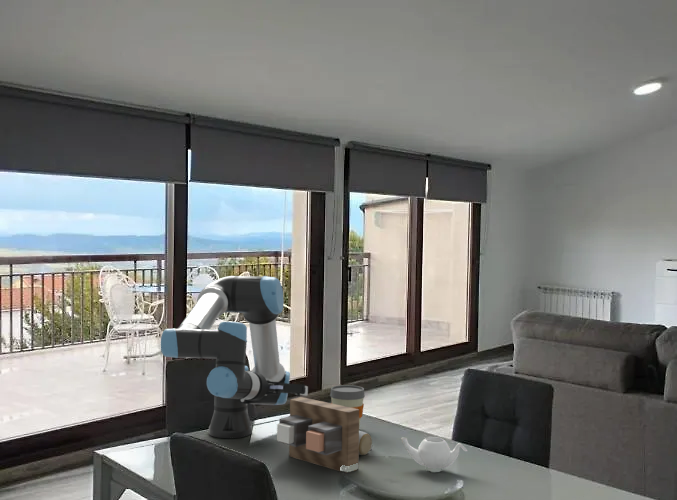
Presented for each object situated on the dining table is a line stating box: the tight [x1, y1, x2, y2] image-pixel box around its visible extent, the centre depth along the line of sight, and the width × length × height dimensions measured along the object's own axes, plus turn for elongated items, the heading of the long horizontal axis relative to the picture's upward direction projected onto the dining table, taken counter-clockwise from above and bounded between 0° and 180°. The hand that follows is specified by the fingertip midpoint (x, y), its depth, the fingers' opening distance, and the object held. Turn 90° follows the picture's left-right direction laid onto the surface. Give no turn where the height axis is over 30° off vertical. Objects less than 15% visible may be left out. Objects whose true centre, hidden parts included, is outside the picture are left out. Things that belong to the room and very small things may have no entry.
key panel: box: [278, 396, 360, 472], centre depth 209 cm, size 24×12×18 cm, turn 50°
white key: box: [276, 423, 295, 445], centre depth 208 cm, size 5×4×5 cm
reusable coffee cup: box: [329, 384, 365, 428], centre depth 250 cm, size 13×13×15 cm
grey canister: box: [359, 430, 374, 456], centre depth 223 cm, size 11×8×8 cm
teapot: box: [400, 436, 469, 469], centre depth 206 cm, size 10×20×9 cm, turn 81°
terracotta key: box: [306, 430, 324, 452], centre depth 200 cm, size 5×4×5 cm
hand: (286, 390), depth 204 cm, fingers open, 13 cm apart
